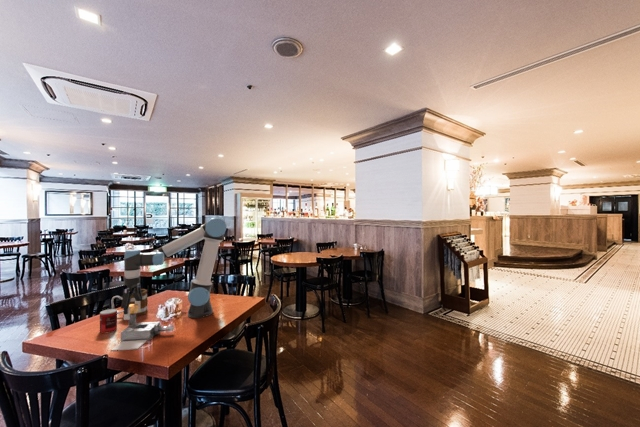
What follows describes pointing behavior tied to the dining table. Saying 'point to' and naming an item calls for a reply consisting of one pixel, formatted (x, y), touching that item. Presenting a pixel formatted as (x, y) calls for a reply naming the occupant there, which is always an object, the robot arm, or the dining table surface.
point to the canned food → (108, 320)
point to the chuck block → (143, 331)
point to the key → (133, 313)
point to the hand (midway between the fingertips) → (132, 315)
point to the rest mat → (129, 345)
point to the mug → (142, 303)
